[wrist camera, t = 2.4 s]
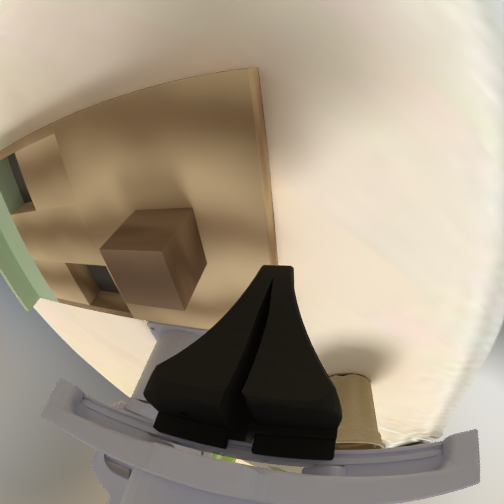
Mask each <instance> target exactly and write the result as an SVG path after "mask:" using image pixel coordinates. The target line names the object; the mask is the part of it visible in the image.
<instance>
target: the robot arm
mask: <svg viewBox="0 0 504 504" xmlns="http://www.w3.org/2000/svg"><path fill="white" fill-rule="evenodd" d="M147 325H148V327H149V329H150V330H151V332H152V334H153V335H154V337H155V339H156V340H157V343H156V345H155V347H154V349H153V351H152V353H151V355H150V358H149V360H148V362H147V364H146V366H145V368H144V371H143V373H142V375H141V377H140V379H139V381H138V384H137V386H136V388H135V390H134V393H133V395H132V397H130V400H129V402H128V404H127V406H126V407H125V402H122V401H120V402H119V403H118V402H117V403H114V404H113V405H110V404H107V403H105V402H102V401H100V400H98V399H95V398H93V397H91V396H88V395H86V394H84V392H83V391H82V390H81V389H80V388H78V387H77V386H75V385H74V384H72V383H70V382H68V381H66V380H64V379H61V378H60V379H59V381H58V382H57V384H56V386H55V388H54V390H53V392H52V394H51V395H50V398H49V399H48V401H47V403H46V405H45V407H44V409H43V411H42V413H41V416H42V417H44V418H45V419H47V420H48V421H50V422H51V423H52V424H54V425H56V426H57V427H59V428H60V429H62V430H63V431H65V432H66V433H68V434H70V435H71V436H73V437H75V438H77V439H78V440H80V441H82V442H84V443H85V444H87V445H89V446H91V447H93V448H94V449H95V451H94V454H93V456H92V459H91V464H92V467H91V469H92V471H93V473H94V474H95V476H96V477H97V478H98V480H99V481H100V483H101V484H102V486H103V487H104V488H105V490H106V491H107V492H108V494H109V497H108V500H107V503H106V504H396V503H402V502H408V501H414V500H420V499H425V498H429V497H434V496H438V495H442V494H446V493H450V492H454V491H457V490H460V489H464V488H467V487H470V486H473V485H476V484H478V483H479V482H480V459H479V458H480V457H479V441H478V430H476V429H474V430H470V431H466V432H461V433H457V434H453V435H450V436H448V437H447V438H445V439H444V440H443V441H440V442H434V443H428V444H421V445H414V446H406V447H396V448H385V449H368V450H335V443H336V439H337V432H338V427H339V425H340V423H341V421H342V408H341V403H340V400H339V397H338V394H337V391H336V387H335V386H334V384H333V382H332V381H331V379H330V378H329V376H328V374H327V373H326V371H325V369H324V367H323V366H322V364H321V362H320V360H319V358H318V356H317V354H316V352H315V350H314V348H313V346H312V344H311V341H310V339H309V337H308V334H307V332H306V329H305V327H304V324H303V321H302V318H301V315H300V311H299V308H298V304H297V300H296V296H295V291H294V268H293V267H292V266H280V265H263V266H262V267H261V268H260V270H259V271H258V273H257V274H256V276H255V278H254V279H253V280H252V282H251V283H250V285H249V286H248V288H247V289H246V290H245V291H244V293H243V294H242V295H241V297H240V298H239V299H238V300H237V302H236V303H235V304H234V305H233V306H232V307H231V309H230V310H229V311H228V312H227V313H226V314H225V315H224V316H223V317H222V318H221V319H220V320H219V321H218V322H217V323H216V324H215V325H214V326H213V327H212V328H211V329H201V328H193V327H186V326H179V325H172V324H165V323H159V322H153V321H148V323H147ZM253 439H254V440H253ZM212 454H216V455H221V456H226V457H231V458H236V459H242V460H248V461H254V462H261V463H269V464H278V465H288V466H300V467H305V468H303V469H302V474H301V473H292V472H285V471H278V470H272V469H266V468H260V467H254V466H249V465H244V464H239V463H234V462H230V461H225V460H220V459H216V458H212Z"/></svg>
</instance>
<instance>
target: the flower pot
mask: <svg viewBox="0 0 504 504" xmlns="http://www.w3.org/2000/svg"><path fill="white" fill-rule="evenodd" d="M329 378H330V379H331V381H332V382H333V384H334V386H335V387H336V391H337V394H338V397H339V400H340V403H341V408H342V421H341V423H340V425H339V427H338V432H337V439H336V443H335V450H368V449H385V444H384V443H382V440H381V435H380V433H379V432H378V428H377V421H376V415H375V409H374V402H373V396H372V390H371V384H370V381H369V380H368V379H367V378H365V377H363V376H360V375H355V374H348V375H346V376H338V375H334V376H331V377H329Z"/></svg>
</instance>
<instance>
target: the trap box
mask: <svg viewBox="0 0 504 504" xmlns="http://www.w3.org/2000/svg"><path fill="white" fill-rule="evenodd" d="M169 208H193V210H194V214H195V218H196V222H197V226H198V230H199V234H200V238H201V242H202V246H203V249H204V253H205V257H206V261H207V265H206V267H205V269H204V271H203V274H202V276H201V278H200V280H199V282H198V284H197V286H196V288H195V290H194V293H193V295H192V297H191V299H190V301H189V303H188V305H187V308H186V310H185V311H181V310H172V309H165V308H157V307H150V306H143V305H136V304H129V303H126V301H125V299H124V298H123V296H122V294H121V292H120V290H119V288H118V286H117V285H116V283H115V281H114V279H113V277H112V275H111V273H110V271H109V269H108V267H107V265H106V263H105V261H104V259H103V257H102V255H101V253H100V250H99V249H100V248H101V247H102V245H103V244H104V243H105V242H106V241H107V240H108V239H109V238H110V237H111V235H112V234H113V233H114V232H115V231H116V230H117V229H118V228H119V227H120V226H121V225H122V224H123V222H124V221H125V220H126V219H127V218H128V217H129V216H130V215H131V214H132V213H133V212H134V211H135V210H149V209H169ZM263 265H278V261H277V248H276V237H275V225H274V214H273V203H272V192H271V182H270V171H269V162H268V152H267V142H266V133H265V124H264V115H263V107H262V98H261V90H260V81H259V73H258V68H247V69H239V70H231V71H224V72H218V73H212V74H206V75H201V76H195V77H190V78H186V79H181V80H177V81H172V82H168V83H164V84H160V85H156V86H153V87H149V88H145V89H142V90H138V91H135V92H132V93H128V94H125V95H122V96H119V97H116V98H113V99H110V100H107V101H105V102H102V103H99V104H96V105H94V106H91V107H89V108H86V109H84V110H81V111H79V112H76V113H74V114H72V115H69V116H67V117H65V118H62V119H60V120H58V121H56V122H54V123H52V124H49V125H47V126H45V127H43V128H41V129H39V130H37V131H35V132H33V133H32V134H30V135H28V136H26V137H24V138H22V139H20V140H19V141H17V142H15V143H13V144H12V145H10V146H8V147H7V148H5V149H3V150H2V151H0V272H1V274H2V276H3V277H4V279H5V281H6V282H7V284H8V285H9V287H10V288H11V290H12V291H13V293H14V294H15V296H16V297H17V298H18V300H19V301H20V303H21V304H22V305H23V307H24V308H25V310H27V311H30V310H31V309H32V307H33V306H34V305H35V303H36V302H37V301H38V299H39V298H44V299H48V300H51V301H55V302H59V303H64V304H68V305H72V306H76V307H81V308H85V309H90V310H94V311H99V312H104V313H109V314H114V315H119V316H124V317H130V318H135V319H141V320H147V321H153V322H159V323H165V324H172V325H179V326H186V327H193V328H201V329H211V328H212V327H213V326H214V325H215V324H216V323H217V322H218V321H219V320H220V319H221V318H222V317H223V316H224V315H225V314H226V313H227V312H228V311H229V310H230V309H231V307H232V306H233V305H234V304H235V303H236V302H237V300H238V299H239V298H240V297H241V295H242V294H243V293H244V291H245V290H246V289H247V288H248V286H249V285H250V283H251V282H252V280H253V279H254V278H255V276H256V274H257V273H258V271H259V270H260V268H261V267H262V266H263Z"/></svg>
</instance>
